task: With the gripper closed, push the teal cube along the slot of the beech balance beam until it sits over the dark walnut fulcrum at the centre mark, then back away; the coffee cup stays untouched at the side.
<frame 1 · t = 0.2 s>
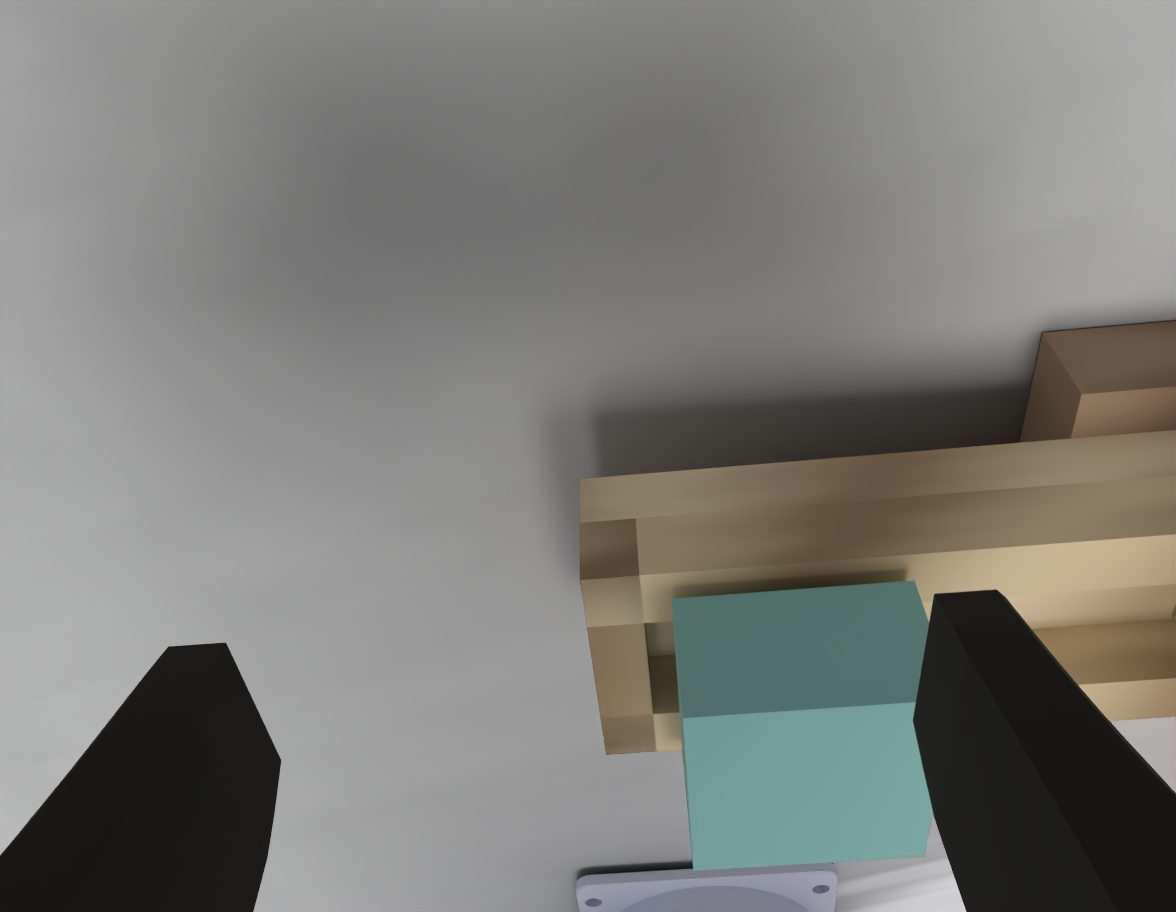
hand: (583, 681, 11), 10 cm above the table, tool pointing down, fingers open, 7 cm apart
teal cube: (793, 696, 18), point 5 cm above the table, slide at 0.0 cm
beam: (1158, 459, 22), on the table
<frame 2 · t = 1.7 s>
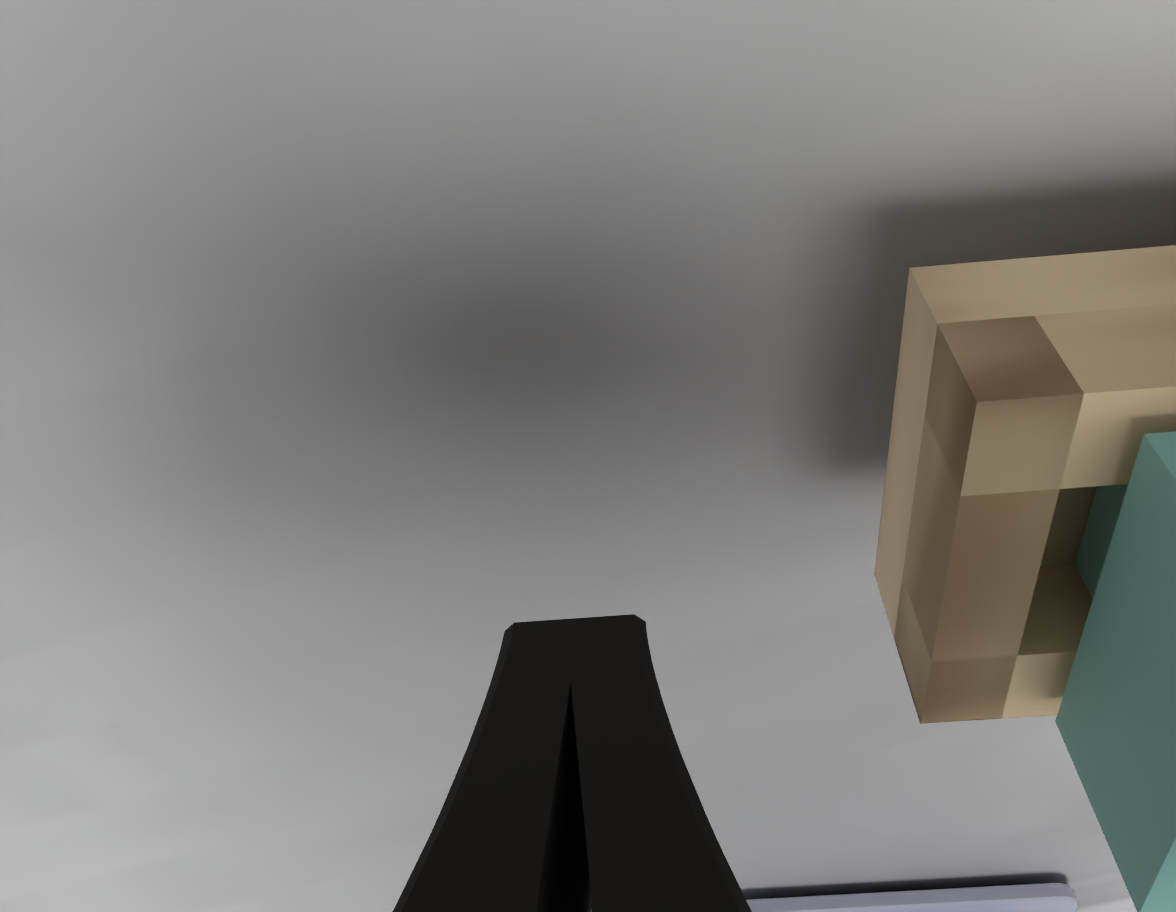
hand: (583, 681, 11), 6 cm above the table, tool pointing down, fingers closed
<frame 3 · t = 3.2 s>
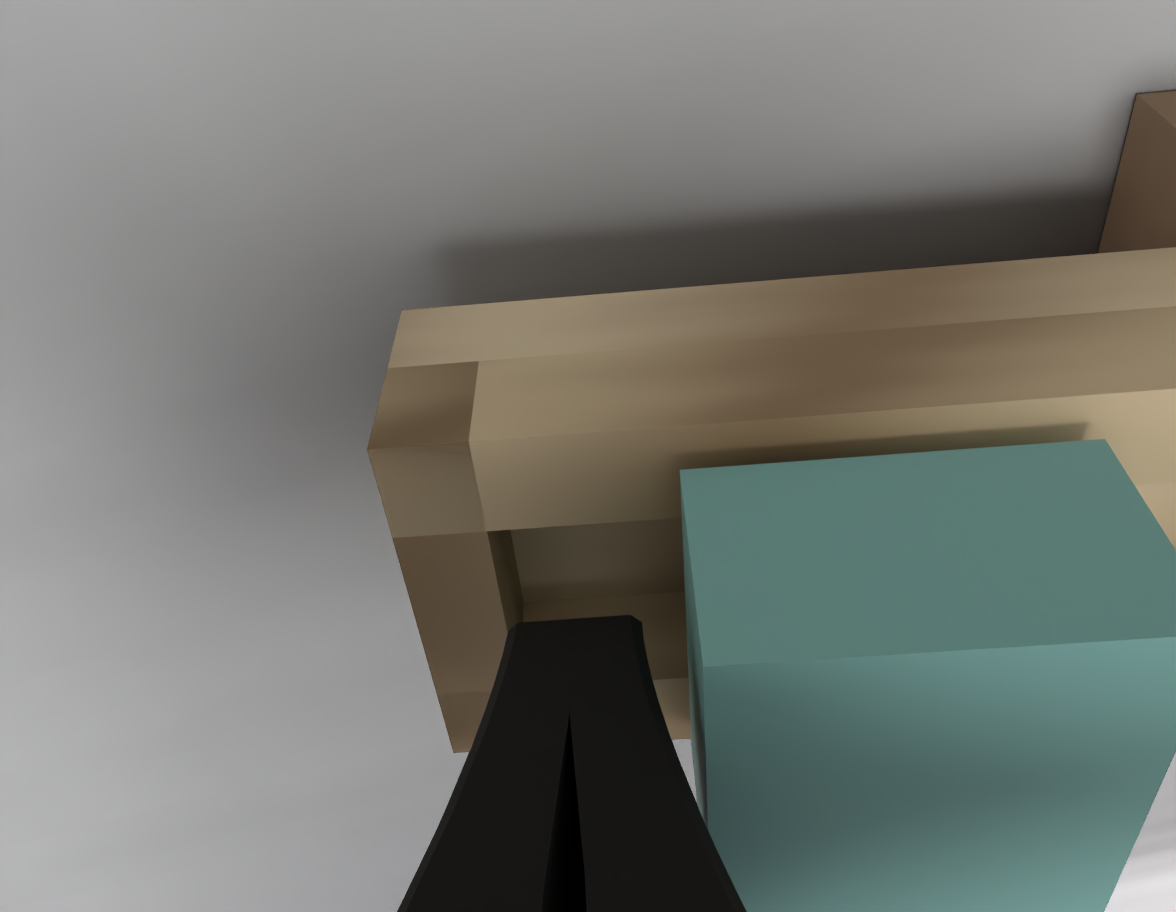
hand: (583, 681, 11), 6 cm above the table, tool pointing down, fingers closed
teal cube: (881, 647, 11), point 5 cm above the table, slide at 1.5 cm, touching gripper
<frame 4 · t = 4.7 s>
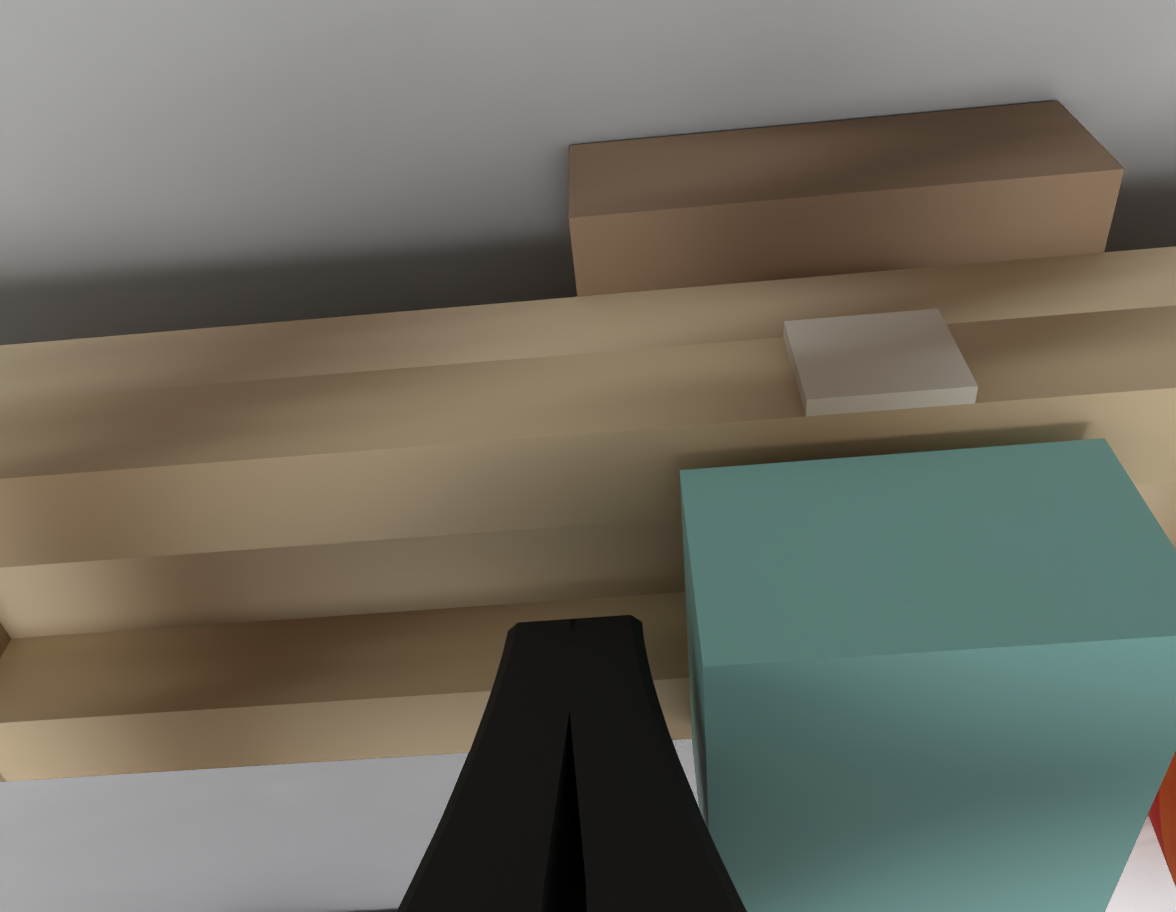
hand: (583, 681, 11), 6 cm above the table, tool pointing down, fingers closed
teal cube: (882, 647, 11), point 5 cm above the table, slide at 8.5 cm, touching gripper
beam: (800, 358, 15), on the table
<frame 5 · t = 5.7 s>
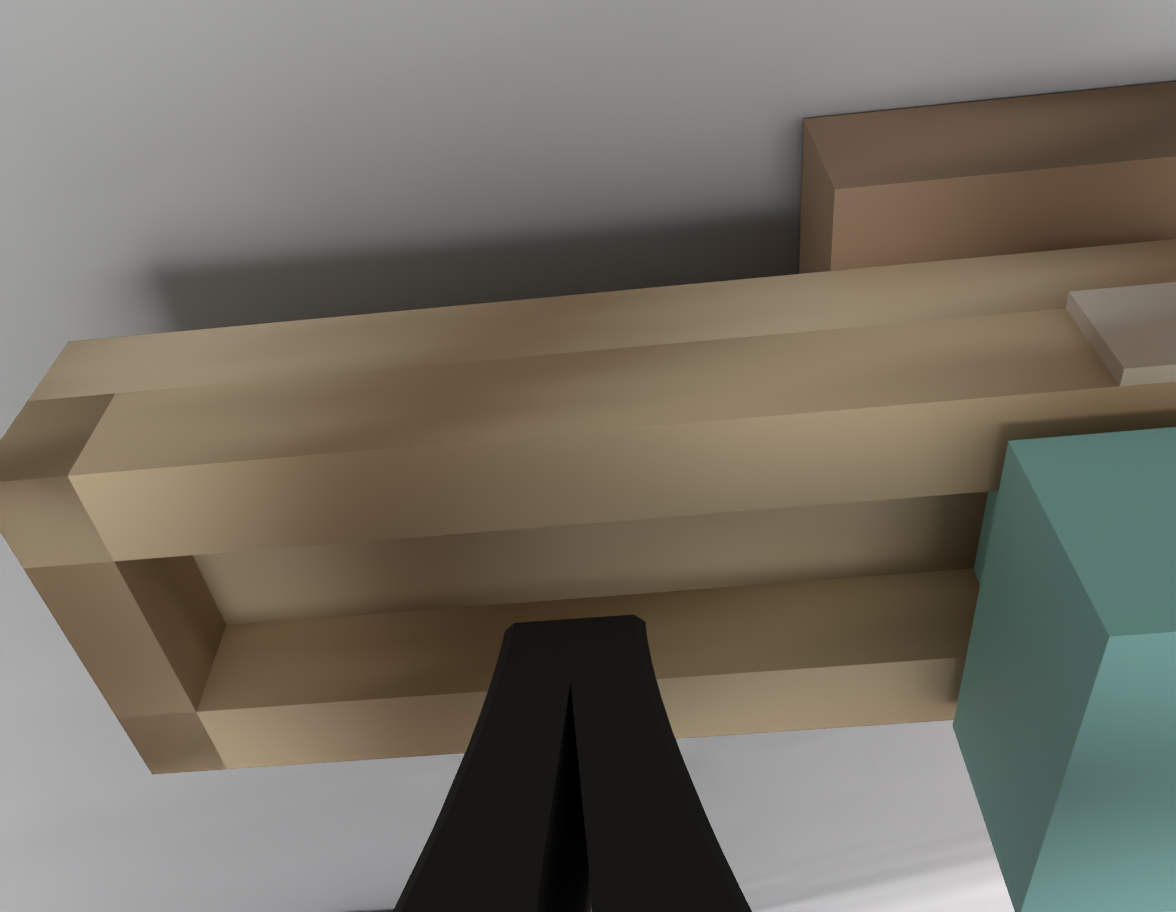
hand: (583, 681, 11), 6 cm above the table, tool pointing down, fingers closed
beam: (1008, 336, 15), on the table
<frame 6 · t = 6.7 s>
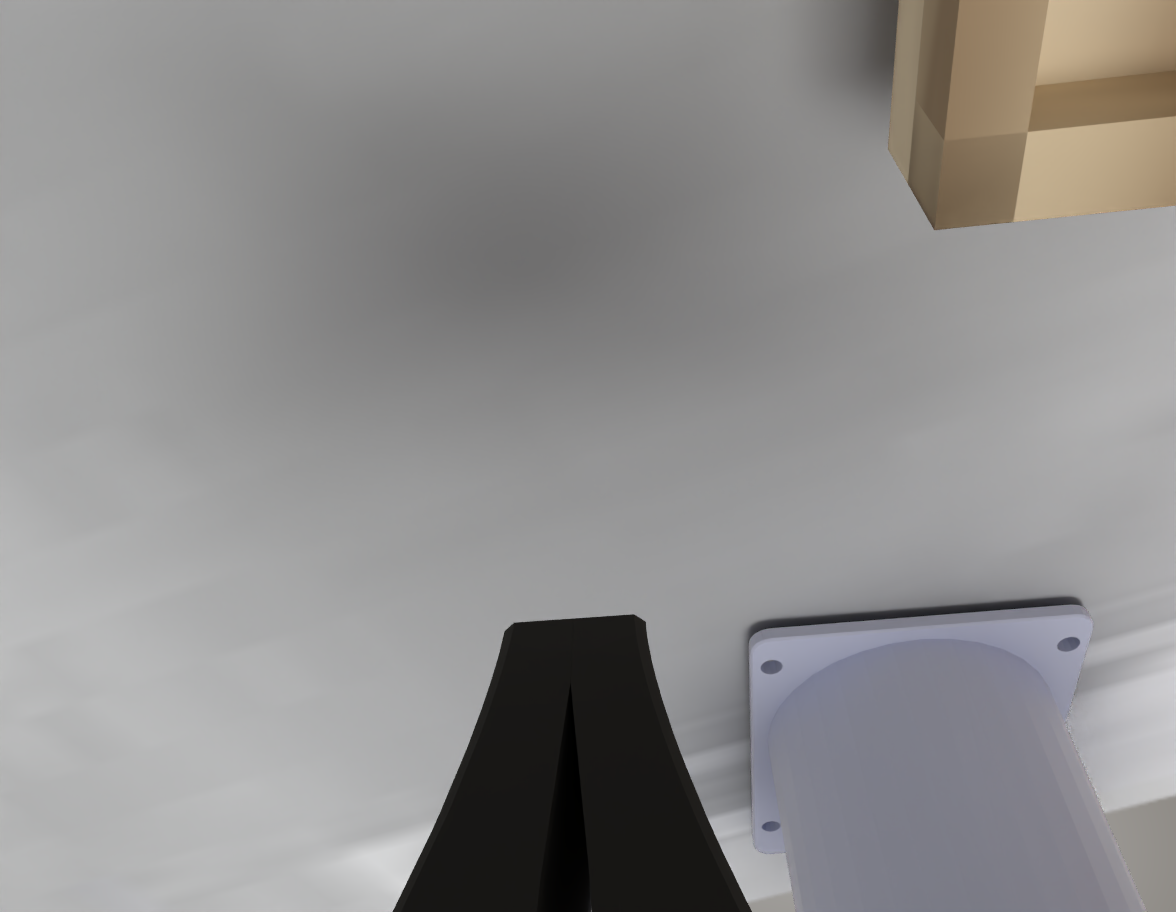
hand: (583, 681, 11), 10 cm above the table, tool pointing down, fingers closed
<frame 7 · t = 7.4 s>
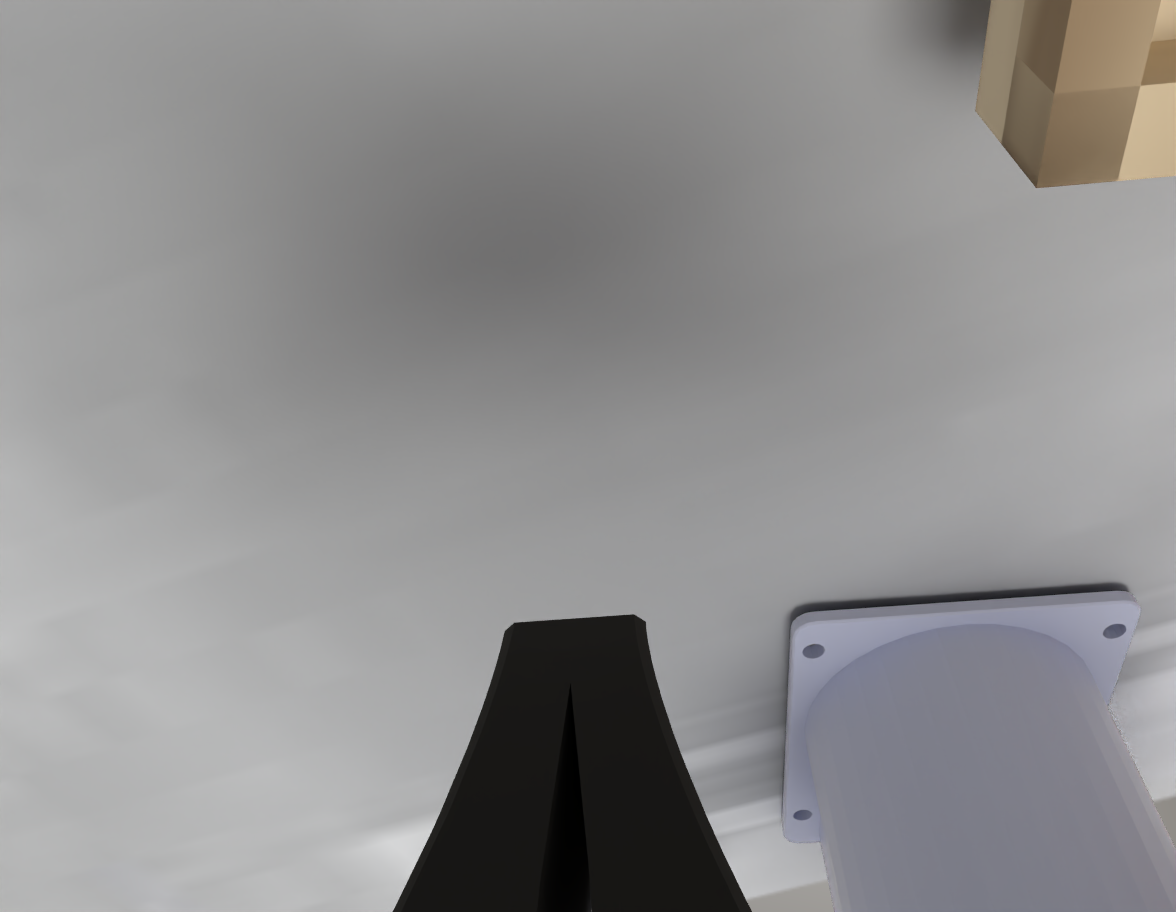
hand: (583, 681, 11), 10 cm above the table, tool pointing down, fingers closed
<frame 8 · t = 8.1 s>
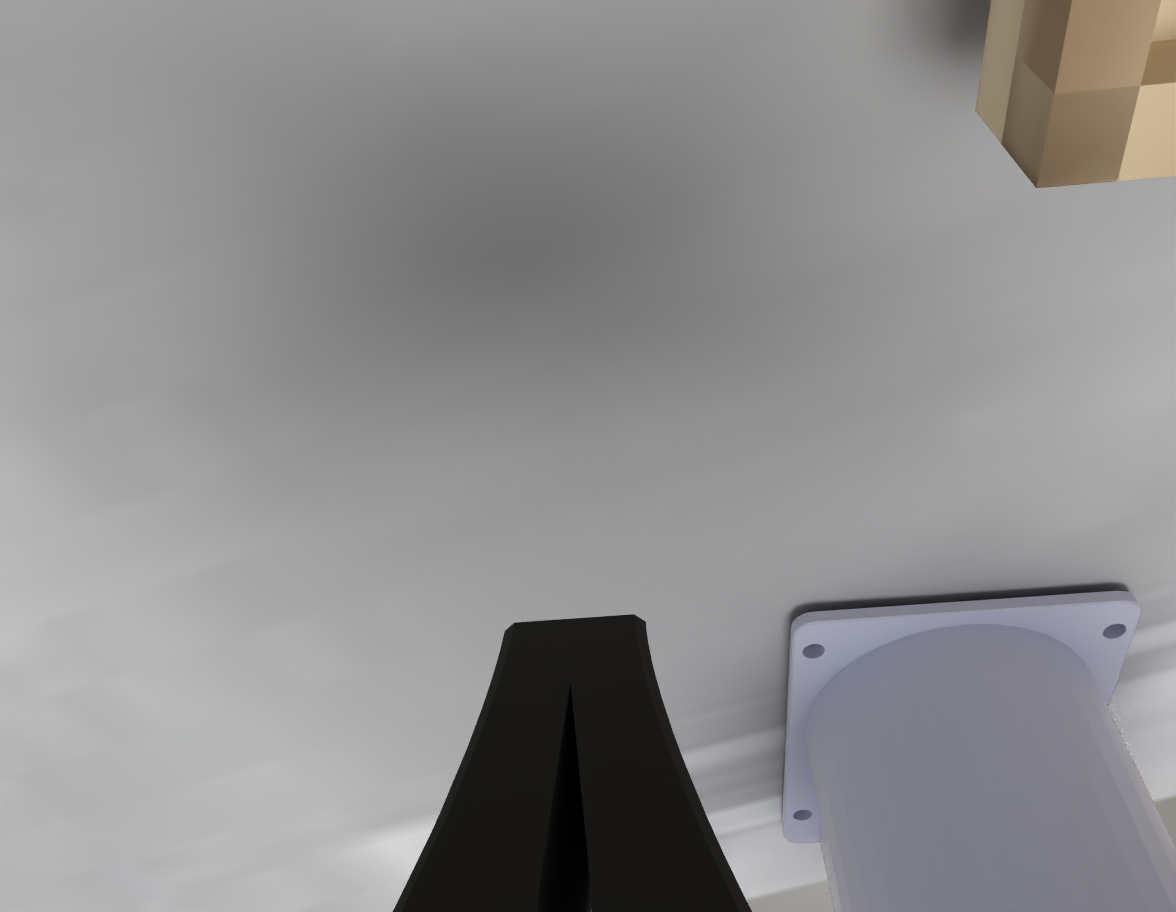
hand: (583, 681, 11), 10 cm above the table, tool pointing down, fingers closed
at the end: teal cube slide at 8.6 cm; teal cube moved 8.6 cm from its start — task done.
